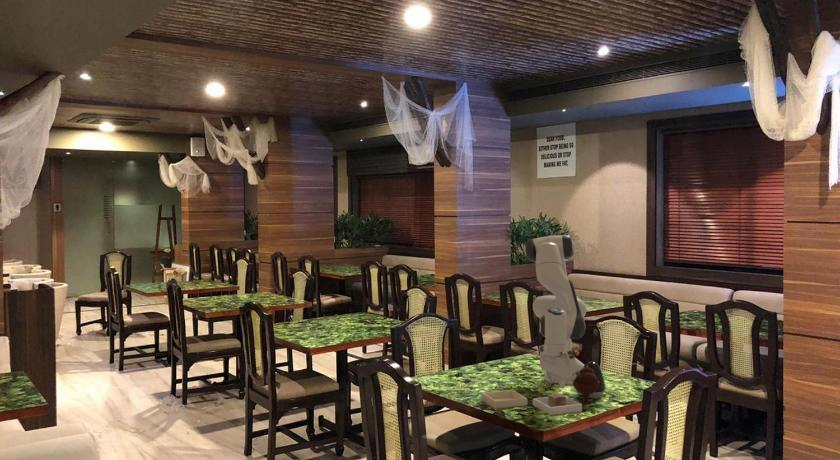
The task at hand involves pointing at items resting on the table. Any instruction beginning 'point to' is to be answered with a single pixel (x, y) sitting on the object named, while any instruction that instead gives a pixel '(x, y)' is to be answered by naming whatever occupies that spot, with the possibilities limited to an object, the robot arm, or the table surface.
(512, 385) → the table surface
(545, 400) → the grey bin
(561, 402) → the walnut block
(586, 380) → the ice cream bowl
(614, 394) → the table surface
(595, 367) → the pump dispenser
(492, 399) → the cream bin
